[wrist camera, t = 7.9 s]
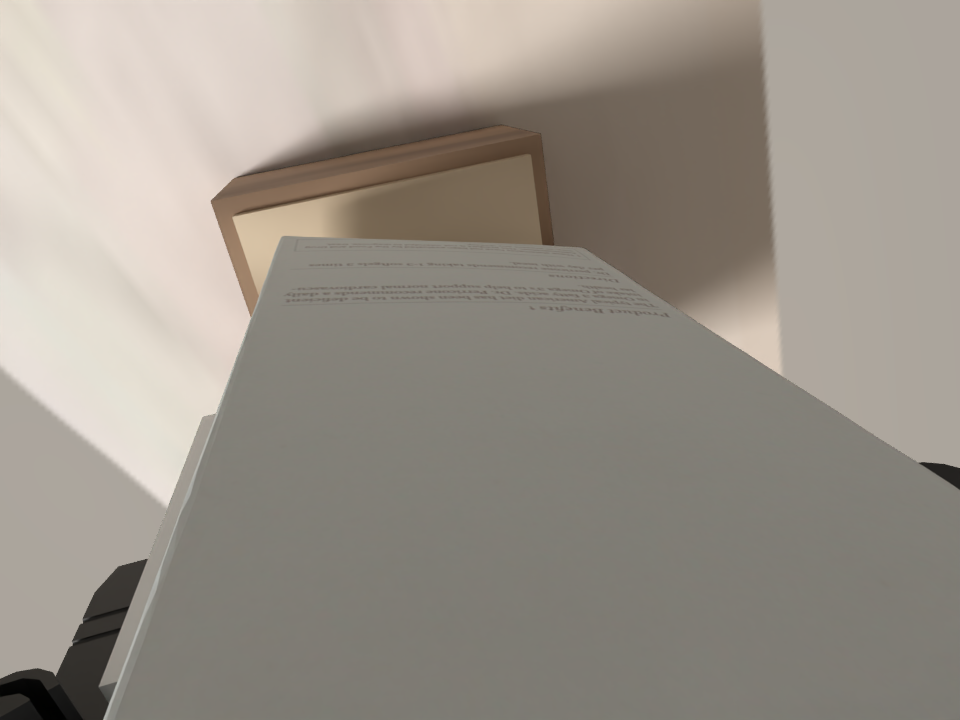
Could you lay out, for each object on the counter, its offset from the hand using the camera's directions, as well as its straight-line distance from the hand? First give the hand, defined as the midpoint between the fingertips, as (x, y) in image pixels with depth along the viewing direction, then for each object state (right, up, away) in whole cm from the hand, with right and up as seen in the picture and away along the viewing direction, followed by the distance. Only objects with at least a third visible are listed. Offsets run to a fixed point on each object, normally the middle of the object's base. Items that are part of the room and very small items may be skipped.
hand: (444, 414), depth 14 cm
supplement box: (0, +1, +2) cm, 2 cm away
